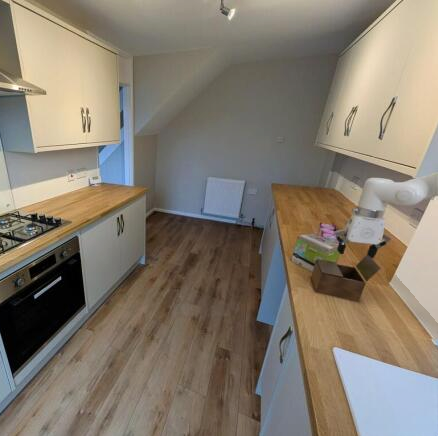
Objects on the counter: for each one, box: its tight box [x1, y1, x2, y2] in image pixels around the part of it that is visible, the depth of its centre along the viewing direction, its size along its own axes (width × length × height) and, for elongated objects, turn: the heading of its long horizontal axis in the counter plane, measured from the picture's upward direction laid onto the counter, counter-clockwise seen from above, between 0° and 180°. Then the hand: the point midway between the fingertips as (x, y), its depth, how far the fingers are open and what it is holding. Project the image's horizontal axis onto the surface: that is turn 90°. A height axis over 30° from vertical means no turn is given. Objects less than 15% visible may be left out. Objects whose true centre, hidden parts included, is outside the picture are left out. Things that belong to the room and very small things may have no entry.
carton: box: [310, 259, 367, 303], centre depth 97 cm, size 14×12×10 cm
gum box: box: [316, 222, 339, 244], centre depth 127 cm, size 24×8×14 cm, turn 147°
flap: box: [355, 254, 381, 282], centre depth 91 cm, size 7×12×1 cm
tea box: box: [291, 232, 341, 273], centre depth 113 cm, size 15×10×15 cm, turn 21°
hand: (355, 254), depth 92 cm, fingers open, 9 cm apart
